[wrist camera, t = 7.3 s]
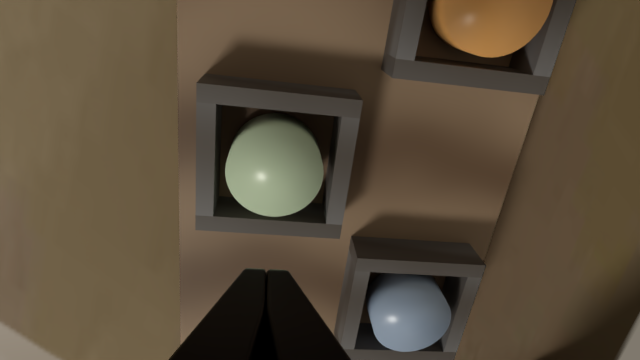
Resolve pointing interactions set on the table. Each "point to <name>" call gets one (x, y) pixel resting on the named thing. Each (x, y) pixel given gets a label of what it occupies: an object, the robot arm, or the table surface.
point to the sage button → (274, 165)
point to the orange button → (488, 24)
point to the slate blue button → (407, 311)
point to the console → (351, 152)
